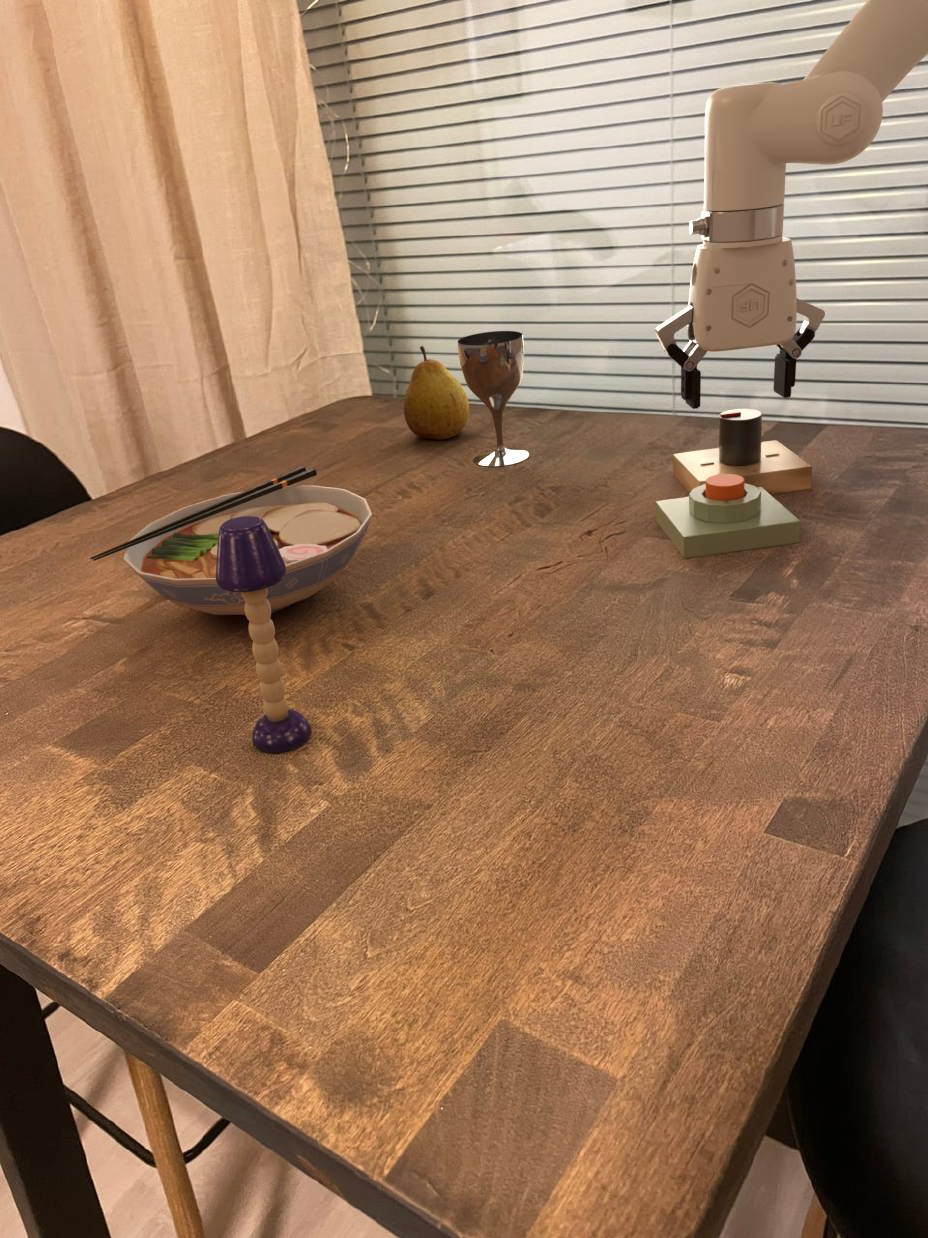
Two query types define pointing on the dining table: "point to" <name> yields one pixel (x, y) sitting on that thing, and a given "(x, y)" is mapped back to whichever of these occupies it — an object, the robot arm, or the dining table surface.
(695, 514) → the switch box
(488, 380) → the wine glass
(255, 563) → the toy lamp
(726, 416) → the dimmer knob
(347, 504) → the ramen bowl
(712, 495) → the power button
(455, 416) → the fruit
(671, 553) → the dining table surface
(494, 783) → the dining table surface
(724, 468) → the dimmer panel
